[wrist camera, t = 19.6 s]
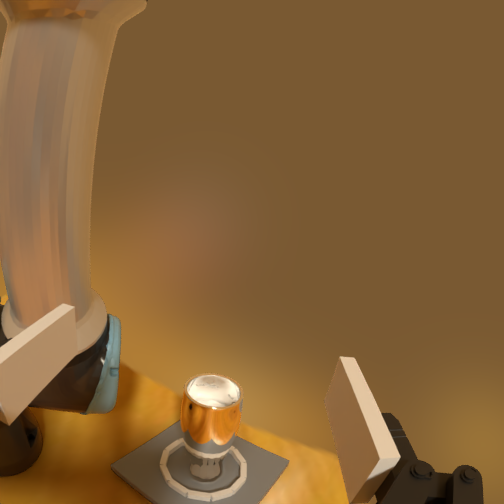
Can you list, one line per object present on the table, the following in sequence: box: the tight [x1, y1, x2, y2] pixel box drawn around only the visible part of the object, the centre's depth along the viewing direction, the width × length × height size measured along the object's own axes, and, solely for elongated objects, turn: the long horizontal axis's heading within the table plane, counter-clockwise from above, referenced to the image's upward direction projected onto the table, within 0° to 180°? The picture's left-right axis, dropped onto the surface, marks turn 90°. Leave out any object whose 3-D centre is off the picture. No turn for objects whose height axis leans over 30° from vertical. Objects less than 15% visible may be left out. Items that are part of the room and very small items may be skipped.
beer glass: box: [181, 373, 244, 485], centre depth 34 cm, size 7×7×15 cm
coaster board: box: [111, 420, 289, 504], centre depth 36 cm, size 18×18×2 cm
